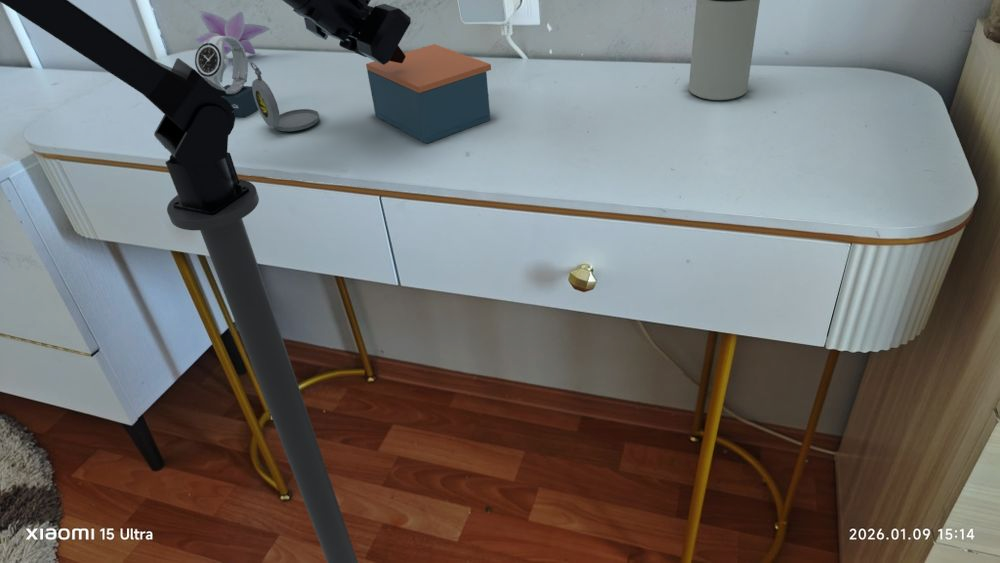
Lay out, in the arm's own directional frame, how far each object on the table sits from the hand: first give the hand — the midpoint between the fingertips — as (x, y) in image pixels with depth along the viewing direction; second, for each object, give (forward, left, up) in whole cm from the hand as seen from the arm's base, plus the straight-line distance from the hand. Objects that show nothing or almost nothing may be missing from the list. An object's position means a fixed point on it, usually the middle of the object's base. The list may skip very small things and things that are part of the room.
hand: (402, 59), depth 91 cm
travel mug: (+22, -38, -9) cm, 44 cm away
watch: (-2, +29, -9) cm, 31 cm away
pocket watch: (-5, +17, -9) cm, 21 cm away
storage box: (+3, -2, -9) cm, 10 cm away
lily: (+17, +47, -9) cm, 50 cm away
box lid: (+3, -2, -2) cm, 4 cm away
